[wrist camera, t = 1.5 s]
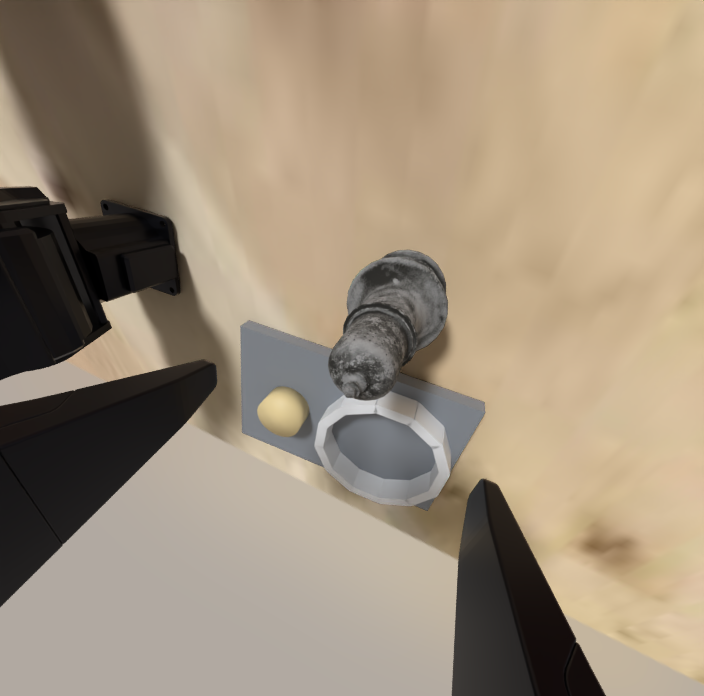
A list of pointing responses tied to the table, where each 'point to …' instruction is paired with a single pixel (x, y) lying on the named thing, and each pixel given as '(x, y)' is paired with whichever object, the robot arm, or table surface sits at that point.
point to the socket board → (352, 420)
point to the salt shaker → (387, 322)
